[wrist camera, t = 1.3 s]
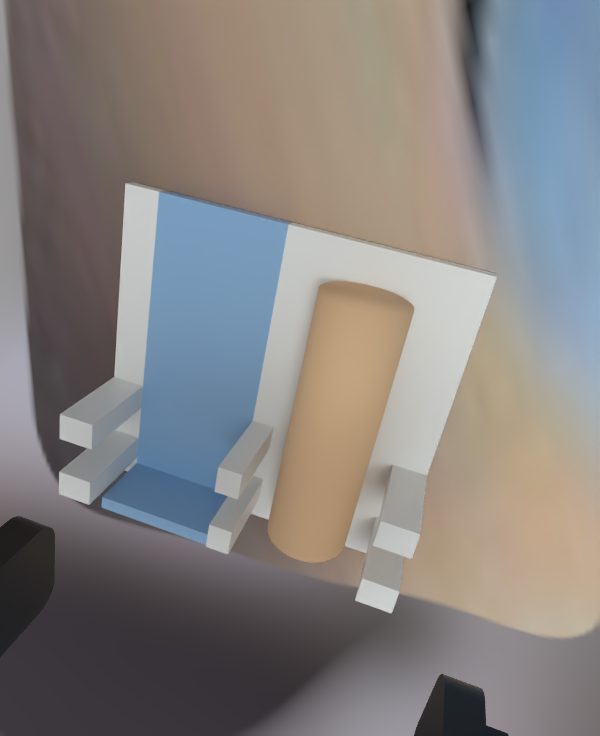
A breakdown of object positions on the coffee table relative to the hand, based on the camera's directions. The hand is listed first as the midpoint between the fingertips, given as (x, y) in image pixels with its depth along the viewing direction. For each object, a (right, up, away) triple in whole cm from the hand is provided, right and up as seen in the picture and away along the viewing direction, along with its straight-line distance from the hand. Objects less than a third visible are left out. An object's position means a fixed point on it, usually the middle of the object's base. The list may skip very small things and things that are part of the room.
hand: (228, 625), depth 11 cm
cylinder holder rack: (0, +4, +14) cm, 15 cm away
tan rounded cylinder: (+3, +3, +13) cm, 14 cm away
